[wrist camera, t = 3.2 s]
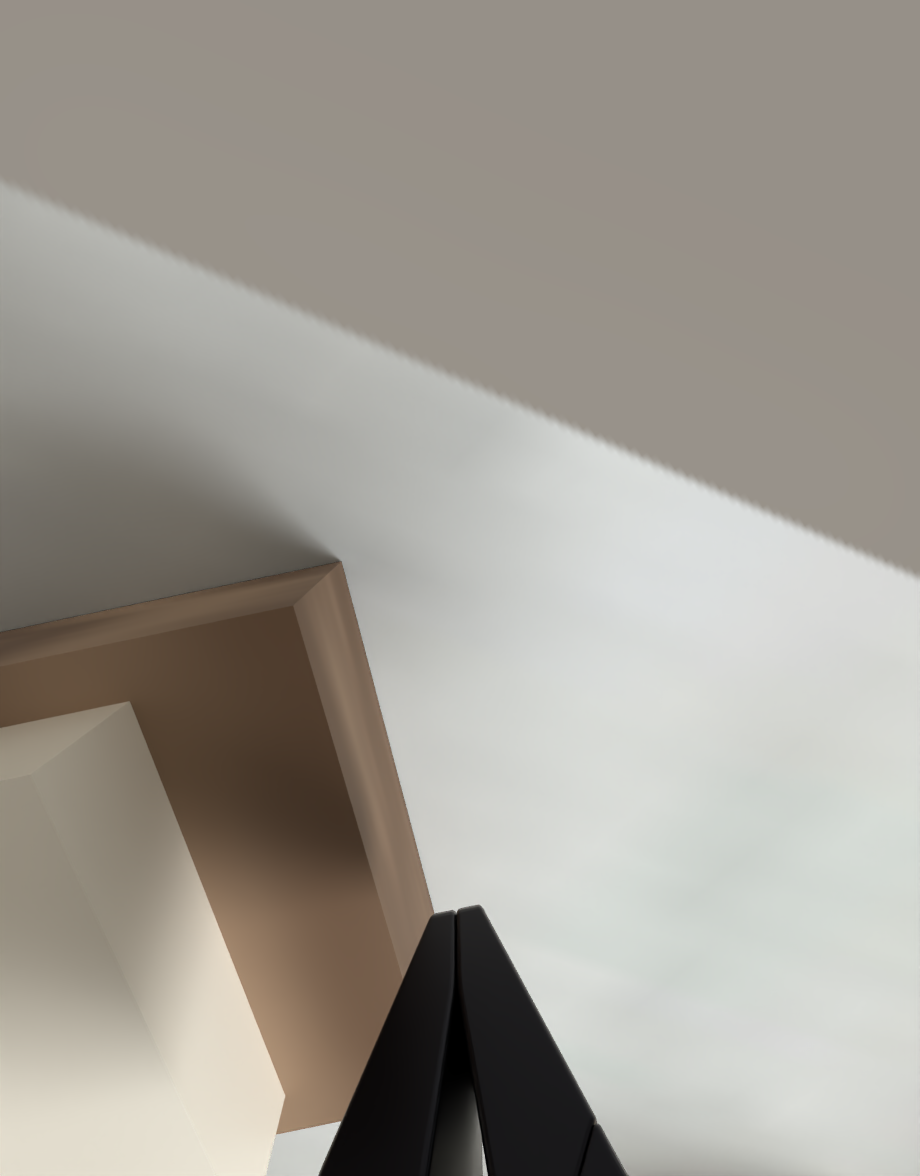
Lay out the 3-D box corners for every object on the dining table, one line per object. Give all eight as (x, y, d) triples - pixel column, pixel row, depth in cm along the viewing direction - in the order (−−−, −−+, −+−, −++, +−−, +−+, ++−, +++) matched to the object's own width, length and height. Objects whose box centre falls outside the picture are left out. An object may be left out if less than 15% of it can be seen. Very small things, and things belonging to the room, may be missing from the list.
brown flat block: (-35, 1026, 14) (-213, 1234, 10) (-236, 681, 12) (-572, 785, 8) (438, 929, 14) (438, 1100, 10) (341, 561, 12) (293, 605, 8)
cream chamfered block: (-1, 1154, 10) (-106, 1318, 8) (-230, 776, 8) (-445, 872, 6) (285, 1095, 10) (248, 1245, 8) (130, 700, 8) (30, 774, 6)
